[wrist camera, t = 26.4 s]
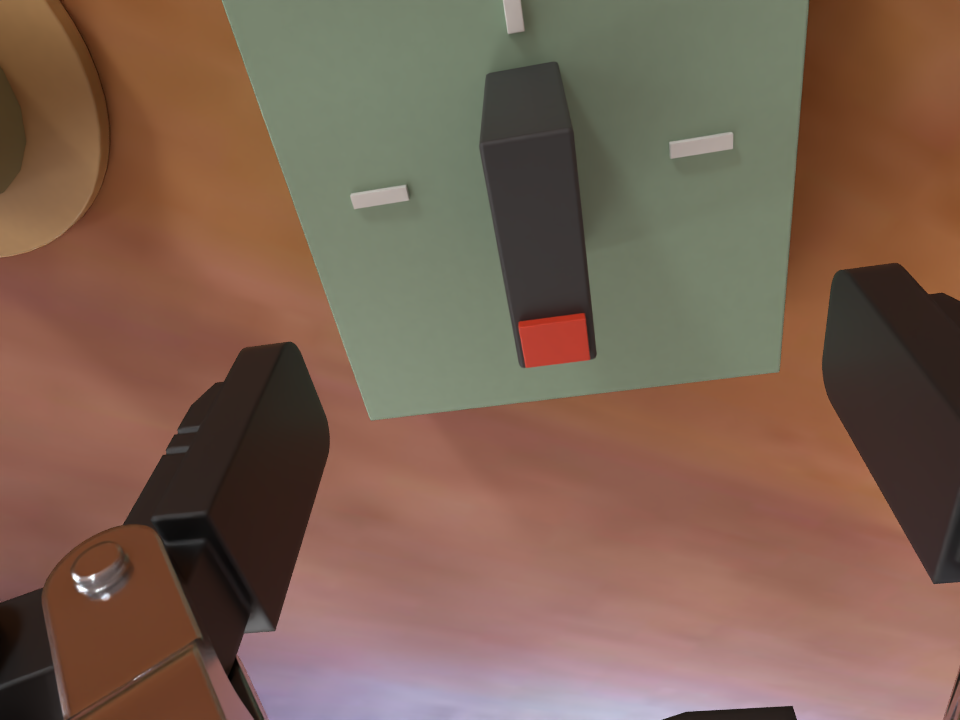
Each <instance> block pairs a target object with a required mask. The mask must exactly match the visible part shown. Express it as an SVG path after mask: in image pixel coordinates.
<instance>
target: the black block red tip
mask: <svg viewBox="0 0 960 720" xmlns="http://www.w3.org/2000/svg"><path fill="white" fill-rule="evenodd" d="M479 150H480V156H481V161H482V166H483V172H484V177H485V183H486V188H487V194H488V199H489V204H490V210H491V215H492V221H493V226H494V232H495V237H496V242H497V248H498V253H499V259H500V264H501V270H502V275H503V281H504V286H505V291H506V297H507V302H508V308H509V313H510V319H511V324H512V329H513V335H514V340H515V346H516V351H517V357H518V362H519V365H520V366H521V368H531V367H539V366H547V365H555V364H563V363H571V362H579V361H587V360H592V359H595V358H596V355H597V351H596V341H595V332H594V322H593V313H592V303H591V293H590V284H589V274H588V265H587V255H586V245H585V236H584V226H583V217H582V207H581V198H580V188H579V178H578V169H577V159H576V150H575V140H574V131H573V126H572V122H571V118H570V113H569V109H568V104H567V100H566V95H565V91H564V86H563V82H562V78H561V73H560V69H559V65H558V63H557V62H554V61H553V62H548V63H542V64H537V65H531V66H526V67H520V68H515V69H509V70H503V71H498V72H492V73H488V74H487V75H486V78H485V88H484V99H483V109H482V120H481V131H480V141H479Z"/></svg>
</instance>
